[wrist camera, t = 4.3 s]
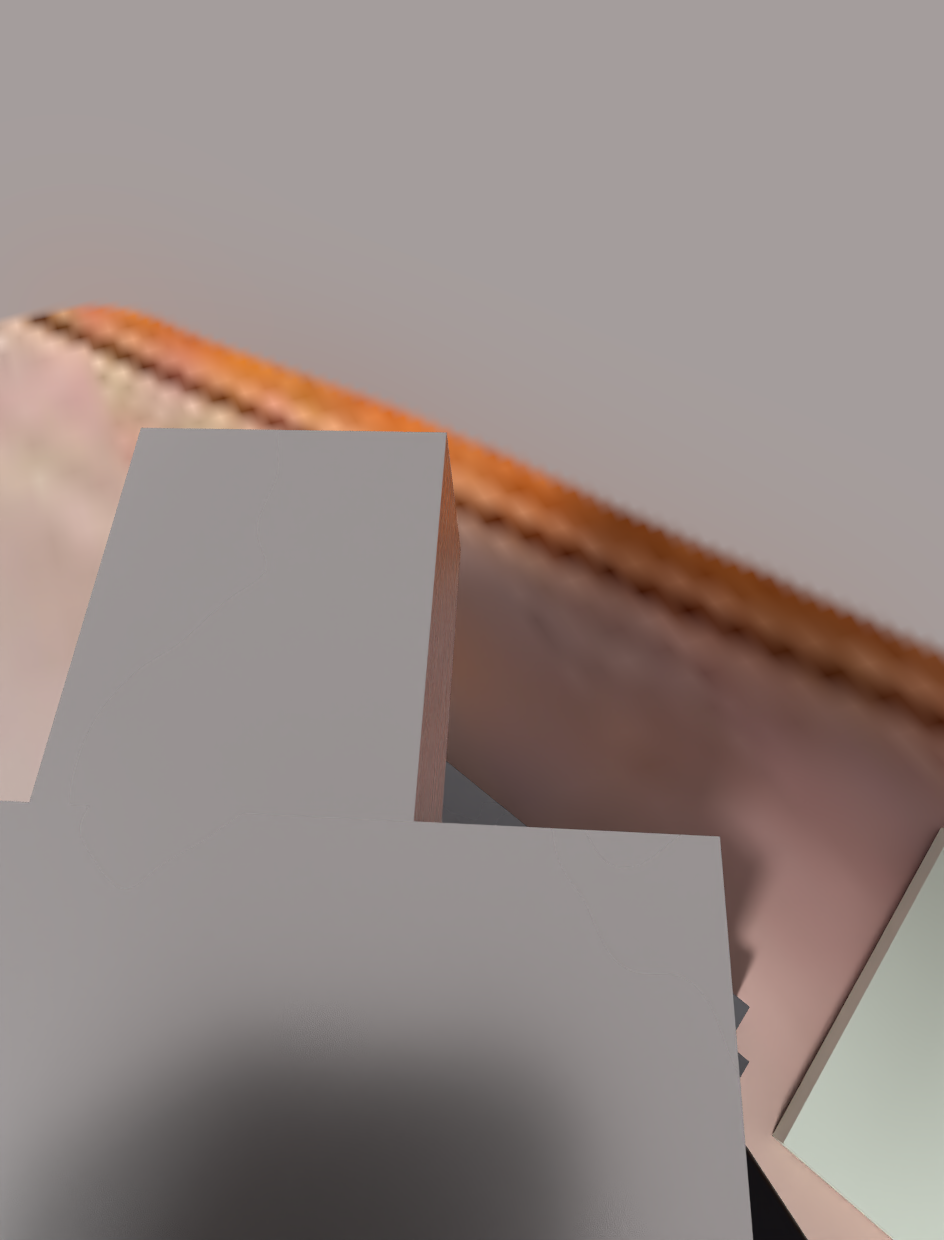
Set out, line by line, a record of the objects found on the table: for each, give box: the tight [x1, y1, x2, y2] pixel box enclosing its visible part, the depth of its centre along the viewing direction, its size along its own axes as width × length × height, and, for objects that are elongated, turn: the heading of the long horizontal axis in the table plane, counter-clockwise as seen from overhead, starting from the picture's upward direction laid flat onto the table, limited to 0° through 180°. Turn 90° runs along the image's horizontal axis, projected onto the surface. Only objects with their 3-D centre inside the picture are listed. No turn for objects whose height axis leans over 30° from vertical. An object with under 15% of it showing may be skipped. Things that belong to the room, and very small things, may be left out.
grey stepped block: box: [0, 428, 753, 1240], centre depth 8 cm, size 7×5×10 cm
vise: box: [442, 761, 749, 1077], centre depth 12 cm, size 9×9×6 cm
